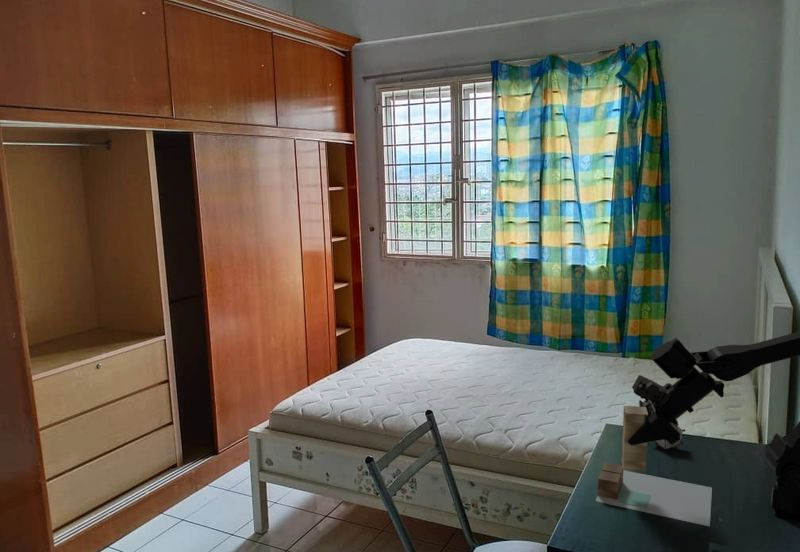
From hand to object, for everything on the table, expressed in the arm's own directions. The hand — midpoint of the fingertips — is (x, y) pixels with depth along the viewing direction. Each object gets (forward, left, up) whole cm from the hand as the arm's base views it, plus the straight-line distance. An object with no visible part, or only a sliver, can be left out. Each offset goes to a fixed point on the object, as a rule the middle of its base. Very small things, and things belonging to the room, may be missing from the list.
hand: (628, 438), depth 135 cm
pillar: (-1, 0, -6) cm, 7 cm away
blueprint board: (-6, -2, -13) cm, 15 cm away
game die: (-6, -29, -14) cm, 33 cm away
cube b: (+3, -2, -12) cm, 13 cm away
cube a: (+3, +2, -12) cm, 13 cm away
